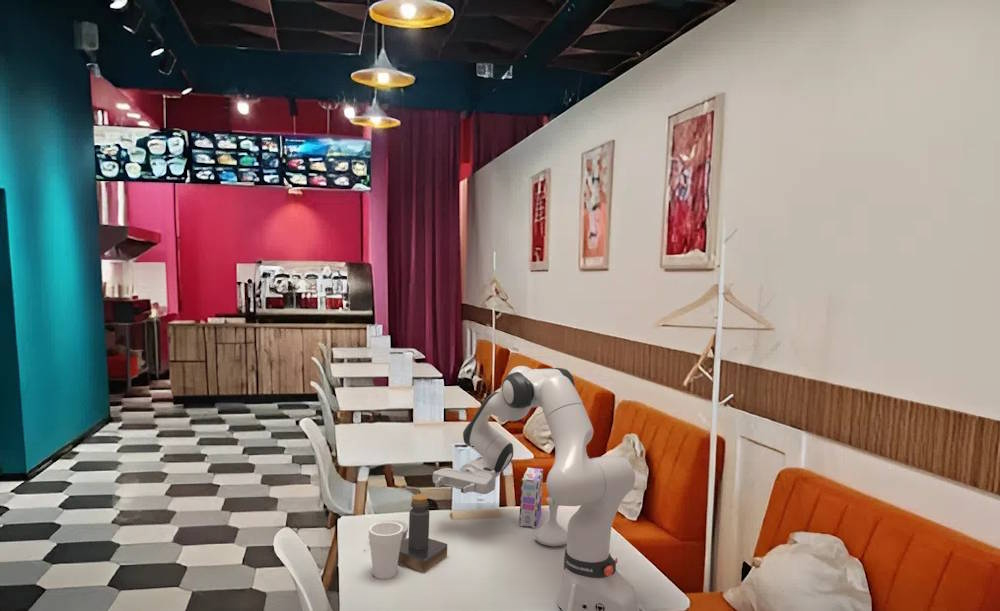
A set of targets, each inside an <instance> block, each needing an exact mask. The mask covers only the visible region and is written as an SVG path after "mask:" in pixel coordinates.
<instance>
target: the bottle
mask: <svg viewBox="0 0 1000 611" xmlns="http://www.w3.org/2000/svg"><path fill="white" fill-rule="evenodd" d="M428 499H429V496H428V495H427V494H424V493H416V494H415V493H414V494H413V495H411V500H412V501H411V503H410V506H411V509H410V510H409V516H408V520H409V521H408V522H409V523H408V538H409V548H410V549H412V550H424V549H426V548H427V547H428V540H429V539H430V538H429V537H430V536H429V534H430V510H429V508H428V507H429V506H430V505H429V501H428Z"/></svg>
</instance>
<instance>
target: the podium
mask: <svg viewBox="0 0 1000 611" xmlns="http://www.w3.org/2000/svg"><path fill="white" fill-rule="evenodd" d="M447 557H448V543H446V542H443V541H439V540H436V539H432V538H429V540H428V547H427V548H426V549H424V550H412V549H410V548H409V537H408V538H406V540H404V541H403V542H401V546H400V552H399V558H398V565H397V566H400V567H403V568H405V569H409V570H413V571H415V572H419V573H422V574H425V573H426V572H428V571H429V570H431V569H432V568H434V567H435V566H436V565H437V564H439V563H440V562H442V561H443V560H445V559H447Z"/></svg>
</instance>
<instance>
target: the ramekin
mask: <svg viewBox="0 0 1000 611" xmlns="http://www.w3.org/2000/svg"><path fill="white" fill-rule="evenodd" d="M380 522H396V523H398V524H401V525H402V527H403V537H402V540H401V542H403V541H404V540H406V539H407V534H408V532H409V524H407V523H406V522H404V521H400V520H395V519H388V520H387V519H386V520H382V521H378V522H377V523H380Z"/></svg>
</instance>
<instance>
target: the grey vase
mask: <svg viewBox="0 0 1000 611" xmlns="http://www.w3.org/2000/svg"><path fill="white" fill-rule="evenodd" d="M545 501H546V502H547V505H548V509H549V518H548V521H547V522H546V523H545V524H544V525H542V526H540V527H539V528H538V529H536V531H535V533H534V535H533V536H534V539H535V540H536V541H537V542H538V543H539V544H542V545H545V546H548V547H559V546H564V545H567V532H568V531H567V530H566V529H565V528H563V527H562V525H560V524H559V523H558V521H557V514H558V509H559V506H560V505H557V504H556V503H555V502H554V501H553V500H552V499H551V498H550V496H548V497H546V499H545Z"/></svg>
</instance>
